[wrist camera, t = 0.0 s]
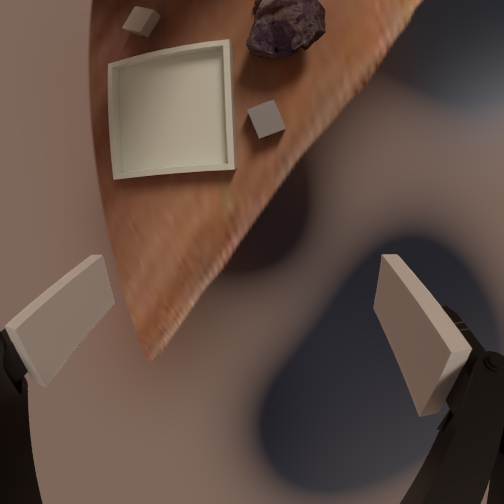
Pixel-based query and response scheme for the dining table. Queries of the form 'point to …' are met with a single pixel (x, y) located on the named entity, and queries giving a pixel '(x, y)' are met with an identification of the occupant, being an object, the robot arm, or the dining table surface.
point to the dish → (173, 111)
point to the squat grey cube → (266, 119)
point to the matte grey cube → (141, 21)
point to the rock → (285, 27)
